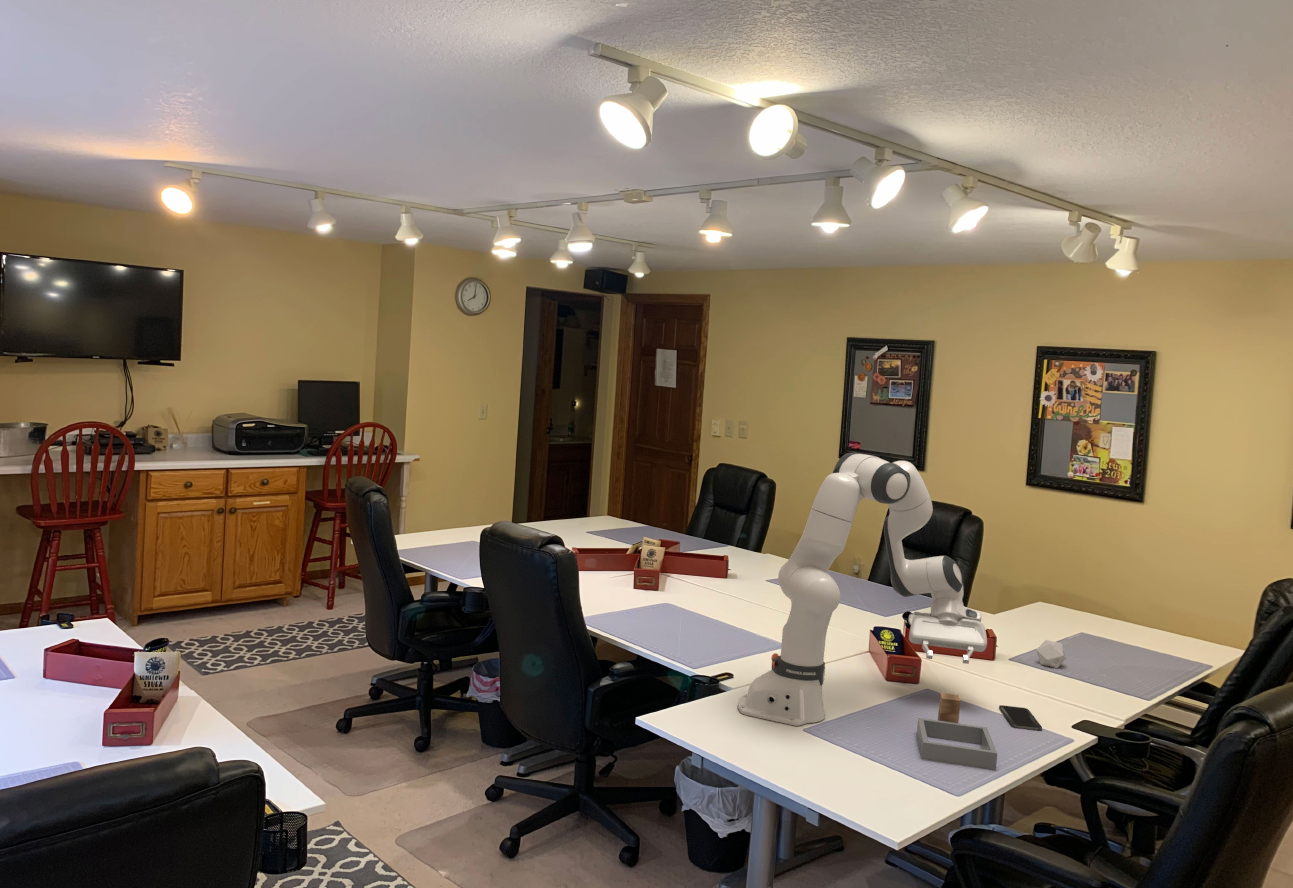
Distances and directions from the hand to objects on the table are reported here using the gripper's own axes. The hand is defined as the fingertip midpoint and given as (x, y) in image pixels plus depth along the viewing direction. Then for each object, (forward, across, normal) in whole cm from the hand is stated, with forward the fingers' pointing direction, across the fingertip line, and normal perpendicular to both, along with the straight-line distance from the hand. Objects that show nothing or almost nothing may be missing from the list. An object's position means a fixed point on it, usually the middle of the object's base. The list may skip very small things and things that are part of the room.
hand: (947, 660), depth 246 cm
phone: (+9, +20, +12) cm, 25 cm away
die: (-32, +39, +52) cm, 72 cm away
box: (+30, 0, -10) cm, 31 cm away
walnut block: (+18, 0, +2) cm, 18 cm away
